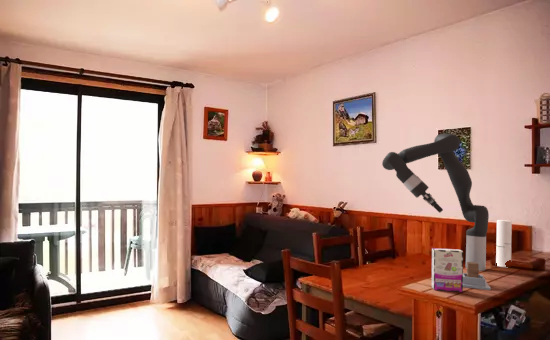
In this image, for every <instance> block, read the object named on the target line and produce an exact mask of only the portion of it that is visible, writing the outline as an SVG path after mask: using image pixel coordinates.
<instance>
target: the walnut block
mask: <svg viewBox="0 0 550 340" xmlns="http://www.w3.org/2000/svg"><path fill="white" fill-rule="evenodd" d="M466 273H467V277H475V278H478V275H479V264H478V263H475V262H467V268H466Z"/></svg>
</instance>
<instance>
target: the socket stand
mask: <svg viewBox="0 0 550 340" xmlns="http://www.w3.org/2000/svg"><path fill="white" fill-rule="evenodd" d="M463 288H466V289H468V288H469V289H475V290H486V291H491V286H490V285H489V283H488V282H487V281H486V278H485V277H484V275H483V274H478V278H475V277H467V272H463Z"/></svg>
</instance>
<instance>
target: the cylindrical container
mask: <svg viewBox="0 0 550 340" xmlns="http://www.w3.org/2000/svg"><path fill="white" fill-rule="evenodd" d="M512 226H513V222H512V220H505V219H497V220H496V240H495V241H496V243H495V245H496V246H495V247H496V249H495V250H496V251H495V253H496V255H495V264H496V263H497V267H500V268H507V267H506V265H505V263H506V262H507V261H509V260H511V261H512V235H513V234H512V231H513V230H512V229H513V227H512Z"/></svg>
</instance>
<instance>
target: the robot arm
mask: <svg viewBox="0 0 550 340" xmlns="http://www.w3.org/2000/svg"><path fill="white" fill-rule="evenodd" d="M460 144H461V141H460V138H459V137H458V136H457V135H456V134H452V133H440V134H437V135H436V136H435V138H434V140H433V142H430V143H426V144H419V145H415V146H411V147H408V148H405V149H403V150H401V151H400V152H399V153H398V152H396V151H391V152H389V153H387V154H386V156H385V157H384V158H383V160H382V167H383V168H384V169H385V170H387V171H393V170H394V171H395V172H396V173H395V174H396V178H398V180H399V181H400V182H401V183H402V184H403V186H405V188H406V189H407V190H408V191H409V192H410V193H411V194H412V195H413V196H414V197H415V198H419V197H420V196H422V197H423V198H422V199H423V201H424V202H426V203H428V205H430V206H431V207H433V208H434V209H435V210H436V211H437V212H438V213H442V211H444V209H443V208H442V207H441V206H440V204H438V202H437V201H436V199H435V198H434V197H433V196H432V194H430V193H429V192H426V191H427V190H428V189H429V188H430V187H429V186H428V185H427V184H426V183H425V182H424V181H423V180H422V179H421V178H420V177H419V176H418V175H417V174H415V173H414V172H413V170H411V169H410V168H409V167H408V166H407V165H408V164H409V163H412V162H416V161H418V160H422V159H424V158H428V157H431V156H435V155H439V157H440V158H441V161H442V162H443V163H442V164H443V165H444V167H445V170H446V173H447V174H448V177H449V180H450V183H451V185H452V186H453V188H454V192H455V194H456V197H457V199H458V203H459V207H460V209H461V213H462V216H463V218H464V219H465V221H467V222H470V223H474V225H473V227H471V228H468V229H467V230H466V237H465V238H466V239H465V240H466V243H465V245H466V247H465V268H466V269H467V262H475V263H478V264H479V271H486V268H487V267H486V265H487V264H486V262H487V261H486V260H487V258H486V257H487V255H486V254H487V249H486V248H487V233H488V230H489V218H490V217H489V216H490V215H489V210H488V208H487V206H485V205H481V204H480V205H479V204H473V202H472V200H471V195H470V193H471V191H472V187H473V182H472V178H471V176H470V173H469V171H468V169H467V168H466V167H465V166H464V164H463V163H462V162H461V161H460V160H459V158H458V157H457V156H456V154H455V151H457V150H458V149H459V147H460Z"/></svg>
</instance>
